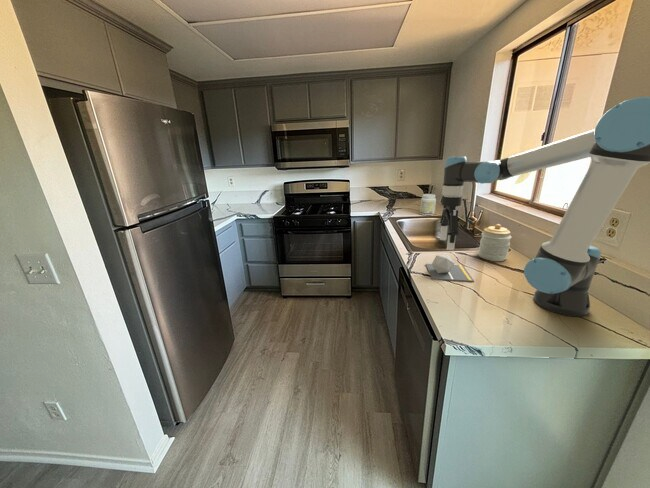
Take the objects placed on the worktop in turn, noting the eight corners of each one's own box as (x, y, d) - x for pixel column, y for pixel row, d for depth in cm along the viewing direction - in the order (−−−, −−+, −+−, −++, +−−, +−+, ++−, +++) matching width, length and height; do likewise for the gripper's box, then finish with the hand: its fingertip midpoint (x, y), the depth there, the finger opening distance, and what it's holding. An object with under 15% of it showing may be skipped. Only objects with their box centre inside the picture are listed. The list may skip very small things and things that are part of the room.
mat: (474, 282, 113) (474, 280, 113) (431, 279, 116) (431, 278, 116) (463, 266, 128) (463, 265, 127) (425, 264, 131) (425, 263, 131)
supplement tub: (424, 212, 237) (426, 193, 232) (437, 214, 229) (439, 194, 223) (416, 214, 230) (418, 194, 224) (429, 216, 221) (432, 196, 216)
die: (447, 268, 126) (435, 252, 126) (461, 266, 118) (448, 248, 118) (436, 278, 123) (424, 261, 123) (450, 276, 115) (438, 258, 115)
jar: (512, 261, 132) (520, 227, 126) (486, 261, 132) (492, 227, 126) (497, 252, 144) (503, 220, 138) (472, 252, 145) (478, 220, 139)
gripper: (471, 200, 98) (464, 254, 104) (453, 191, 121) (448, 236, 127) (449, 200, 99) (443, 254, 106) (436, 191, 122) (432, 236, 129)
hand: (446, 244), depth 116 cm, fingers open, 13 cm apart
